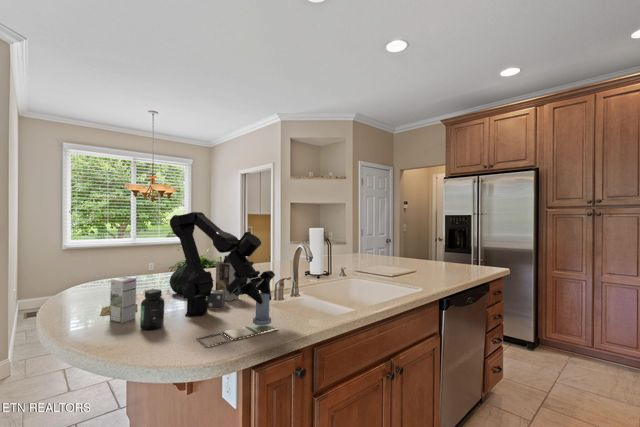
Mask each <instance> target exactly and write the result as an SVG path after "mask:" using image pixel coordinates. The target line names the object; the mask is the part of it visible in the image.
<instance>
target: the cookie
mask: <svg viewBox="0 0 640 427" xmlns="http://www.w3.org/2000/svg"><path fill="white" fill-rule="evenodd" d="M136 313H138V304H136ZM105 316H110V305H108V306H104V307H102V308H101V311H100V314H99V317H105Z"/></svg>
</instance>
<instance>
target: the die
mask: <svg viewBox="0 0 640 427" xmlns="http://www.w3.org/2000/svg"><path fill="white" fill-rule="evenodd" d="M206 300H208V308H222V307H223V308H224V306H225V305H226V300H225V290H216V289H212V291H211V294H210V296H207V297H206ZM223 308H222V309H223Z"/></svg>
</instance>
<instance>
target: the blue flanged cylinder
mask: <svg viewBox="0 0 640 427" xmlns="http://www.w3.org/2000/svg"><path fill="white" fill-rule="evenodd" d="M259 293H260V292H259ZM260 296H261V298H262V301H263V303H262V304H259V303H258V302H256V301H255V316H254V317H253V318H252V323H253V325H255V324H257V325H266V324H271V323H272V317H270V301H271V300H270V294H267V293H262V292H261V293H260ZM269 300H270V301H269Z"/></svg>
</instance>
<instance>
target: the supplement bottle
mask: <svg viewBox="0 0 640 427" xmlns="http://www.w3.org/2000/svg"><path fill="white" fill-rule="evenodd" d="M139 320H140V322H139V323H140V324H139V328H140V330H141V331H143V332H144V331H145V332H150V331H157V330H160V329H162V328H163V327H164V324H165V299H164V298H162V290H161V289H148V290H145V291H144V299H143V300H142V301H141V302H140V319H139Z"/></svg>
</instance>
